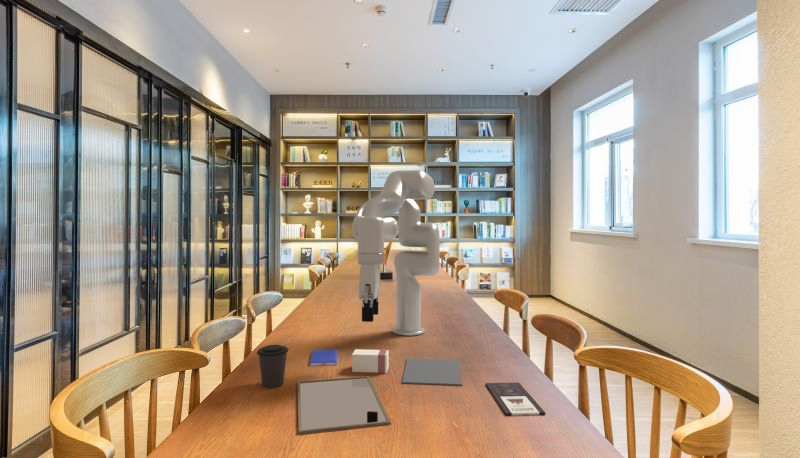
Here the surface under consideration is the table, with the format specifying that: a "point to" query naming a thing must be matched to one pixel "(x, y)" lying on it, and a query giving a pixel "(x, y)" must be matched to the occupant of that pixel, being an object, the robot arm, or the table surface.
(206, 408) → the table surface
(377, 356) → the card box
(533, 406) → the chocolate bar
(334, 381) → the picture frame
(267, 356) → the coffee cup
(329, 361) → the hard drive
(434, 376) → the mat
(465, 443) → the table surface
